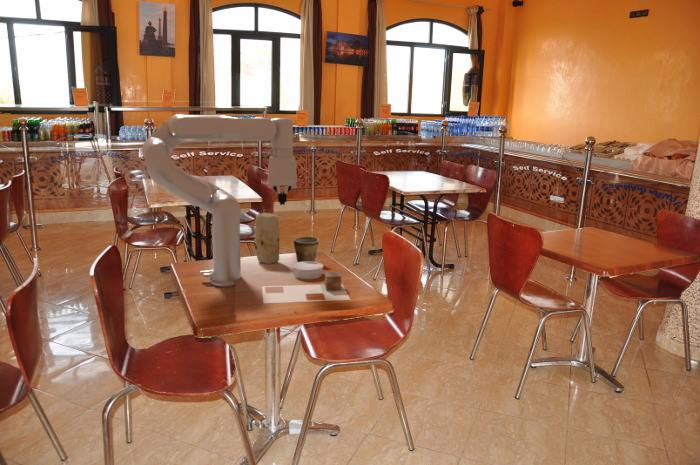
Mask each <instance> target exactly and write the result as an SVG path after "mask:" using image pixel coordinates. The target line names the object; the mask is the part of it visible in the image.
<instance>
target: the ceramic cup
mask: <svg viewBox="0 0 700 465" xmlns="http://www.w3.org/2000/svg"><path fill="white" fill-rule="evenodd" d="M319 241H320V240H319V238H317V237H314V236H299V237H298V236H297V237H295V238H293V246H294V251H295V256H296V261H297V262H303V261H311V262H316V258H317V252H318V248H319V243H320V242H319ZM297 262H296V263H297Z"/></svg>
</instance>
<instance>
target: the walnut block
mask: <svg viewBox="0 0 700 465" xmlns="http://www.w3.org/2000/svg"><path fill="white" fill-rule="evenodd" d="M324 284H325V288H326V291H336V290H341V284H342V275H341V272H340V271H324Z"/></svg>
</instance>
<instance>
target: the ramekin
mask: <svg viewBox="0 0 700 465" xmlns="http://www.w3.org/2000/svg"><path fill="white" fill-rule="evenodd" d="M323 269H324V264H322V263H320V262H317V261H315V262H311V261H303V262H295V263H294V264H292V270H293V275H294V277H295V278H298V279H301V280H315V279H318V278H321V277H322V274H323V271H324V270H323Z"/></svg>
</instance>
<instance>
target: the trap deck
mask: <svg viewBox="0 0 700 465" xmlns="http://www.w3.org/2000/svg"><path fill="white" fill-rule="evenodd" d="M266 288H282V291H283V292H269V293H268V292H267V291H266ZM261 289H262V301H263V302H262V303H263V304H283V303H285V304H286V303H304V302H305V303H306V302H311V303H312V302H332V301H350V300H351V298H350V296H349V294H348V292H347V290H346V288H345V286H344V284H343V283H341V290H336V291H326V288H325V283H324V284H323V283H321V284H320V283H319V284H297V285H296V284H294V285H293V284H292V285H291V284H290V285H264V286H261ZM318 294H319V295H321V294H323V296H324V299H313V300H312V299H311V300H308V299H307V295H318Z"/></svg>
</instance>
